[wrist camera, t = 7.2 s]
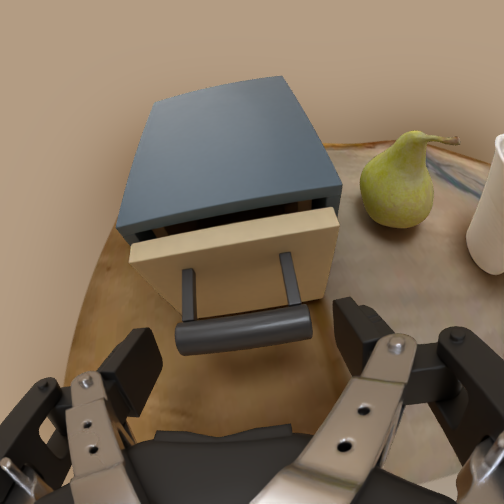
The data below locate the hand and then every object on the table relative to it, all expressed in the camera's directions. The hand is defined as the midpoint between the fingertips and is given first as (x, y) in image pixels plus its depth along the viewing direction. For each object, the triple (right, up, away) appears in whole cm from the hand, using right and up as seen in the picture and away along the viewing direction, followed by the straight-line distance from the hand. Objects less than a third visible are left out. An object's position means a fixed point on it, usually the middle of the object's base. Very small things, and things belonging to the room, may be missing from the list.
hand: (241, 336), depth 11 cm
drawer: (0, +3, +11) cm, 12 cm away
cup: (+24, +4, +9) cm, 26 cm away
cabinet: (0, +6, +14) cm, 16 cm away
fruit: (+14, +7, +13) cm, 20 cm away
